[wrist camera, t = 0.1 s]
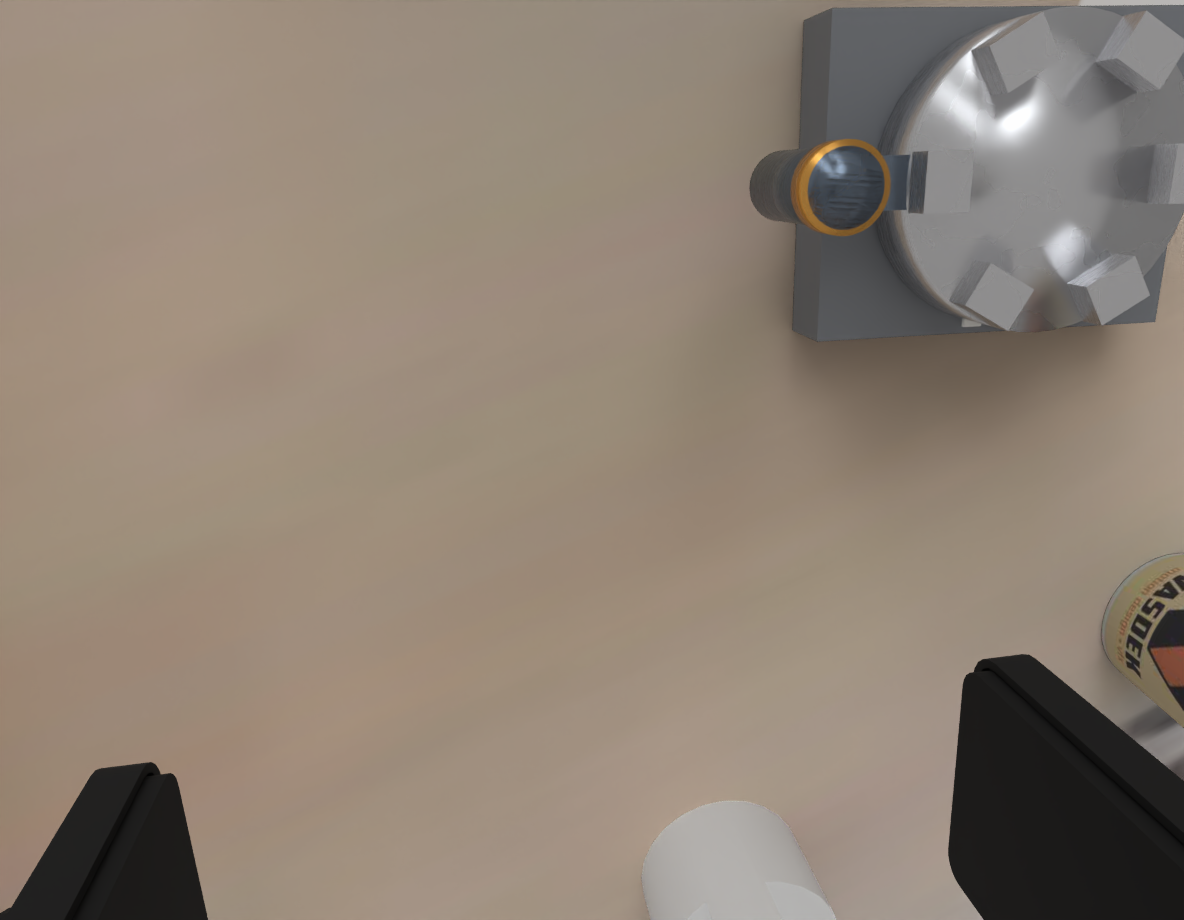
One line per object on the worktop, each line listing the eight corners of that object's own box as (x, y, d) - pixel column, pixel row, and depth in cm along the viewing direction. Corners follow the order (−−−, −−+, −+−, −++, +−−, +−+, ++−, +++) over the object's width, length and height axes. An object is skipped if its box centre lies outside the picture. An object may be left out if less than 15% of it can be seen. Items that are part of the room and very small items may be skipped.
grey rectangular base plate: (803, 20, 38) (834, 7, 35) (1152, 17, 40) (1209, 3, 37) (792, 330, 42) (818, 342, 39) (1109, 312, 44) (1158, 322, 41)
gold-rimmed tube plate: (1162, 17, 37) (1339, -21, 30) (1119, 313, 40) (1267, 344, 33) (733, 22, 35) (809, -20, 27) (728, 335, 38) (794, 373, 31)
